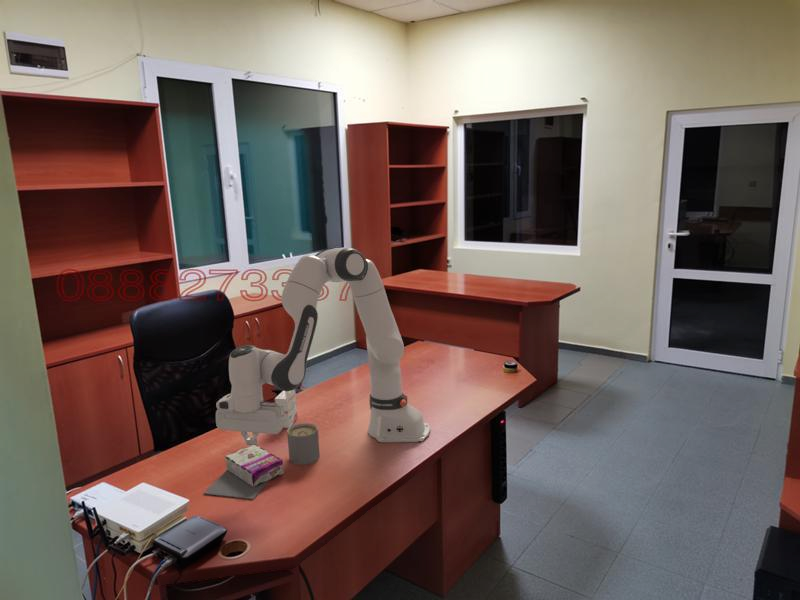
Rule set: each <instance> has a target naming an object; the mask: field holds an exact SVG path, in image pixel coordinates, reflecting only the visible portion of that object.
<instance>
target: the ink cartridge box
mask: <svg viewBox="0 0 800 600" xmlns="http://www.w3.org/2000/svg"><path fill="white" fill-rule="evenodd" d="M274 403H276V404H277V405H279V406H280V407H281V416H282V421H283V429H288V428H290V427H291V426H293V425H294V423H295V422H296V421H297V420H298V410H297V395H296V389H294V390H292V391H283V390H281V392H280V393H278V395H277V396H276V397H275V398H274Z"/></svg>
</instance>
